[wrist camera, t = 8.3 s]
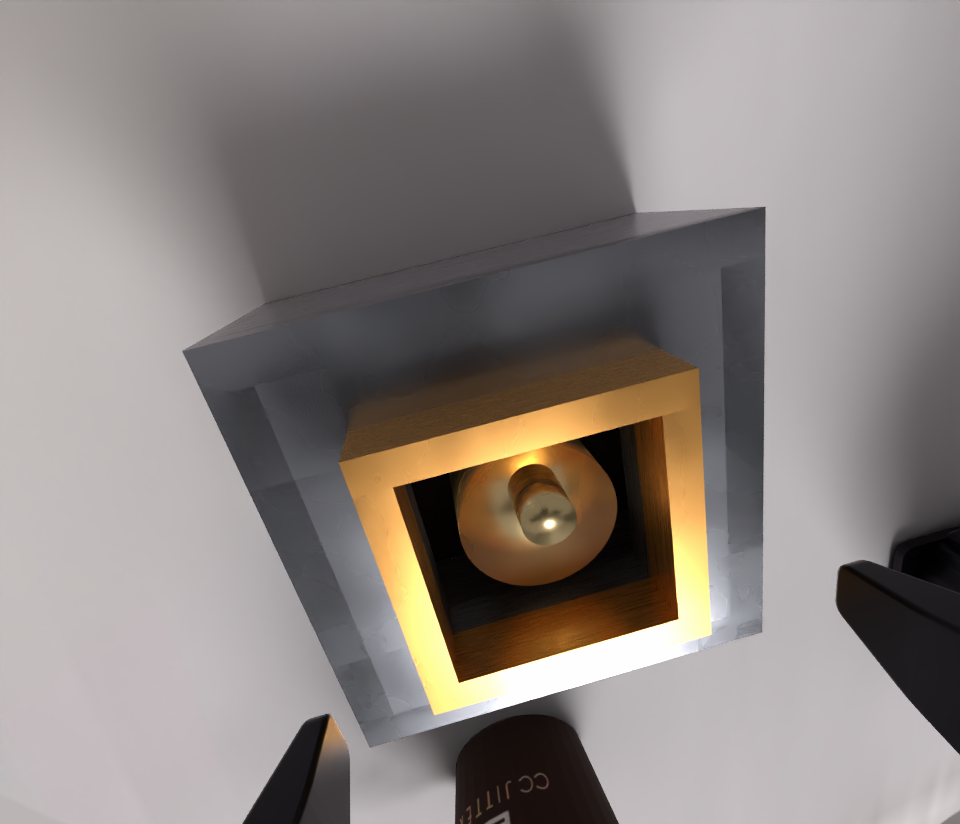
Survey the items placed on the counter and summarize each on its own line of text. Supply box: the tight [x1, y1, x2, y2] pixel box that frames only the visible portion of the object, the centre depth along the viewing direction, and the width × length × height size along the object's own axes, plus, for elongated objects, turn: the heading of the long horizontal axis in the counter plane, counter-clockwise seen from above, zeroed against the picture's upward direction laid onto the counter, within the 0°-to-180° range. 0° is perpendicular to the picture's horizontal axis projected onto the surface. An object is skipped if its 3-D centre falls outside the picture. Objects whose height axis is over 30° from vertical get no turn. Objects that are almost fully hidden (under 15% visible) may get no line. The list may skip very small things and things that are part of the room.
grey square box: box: [183, 207, 765, 747], centre depth 14 cm, size 12×12×8 cm
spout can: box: [449, 438, 617, 586], centre depth 14 cm, size 4×4×8 cm
